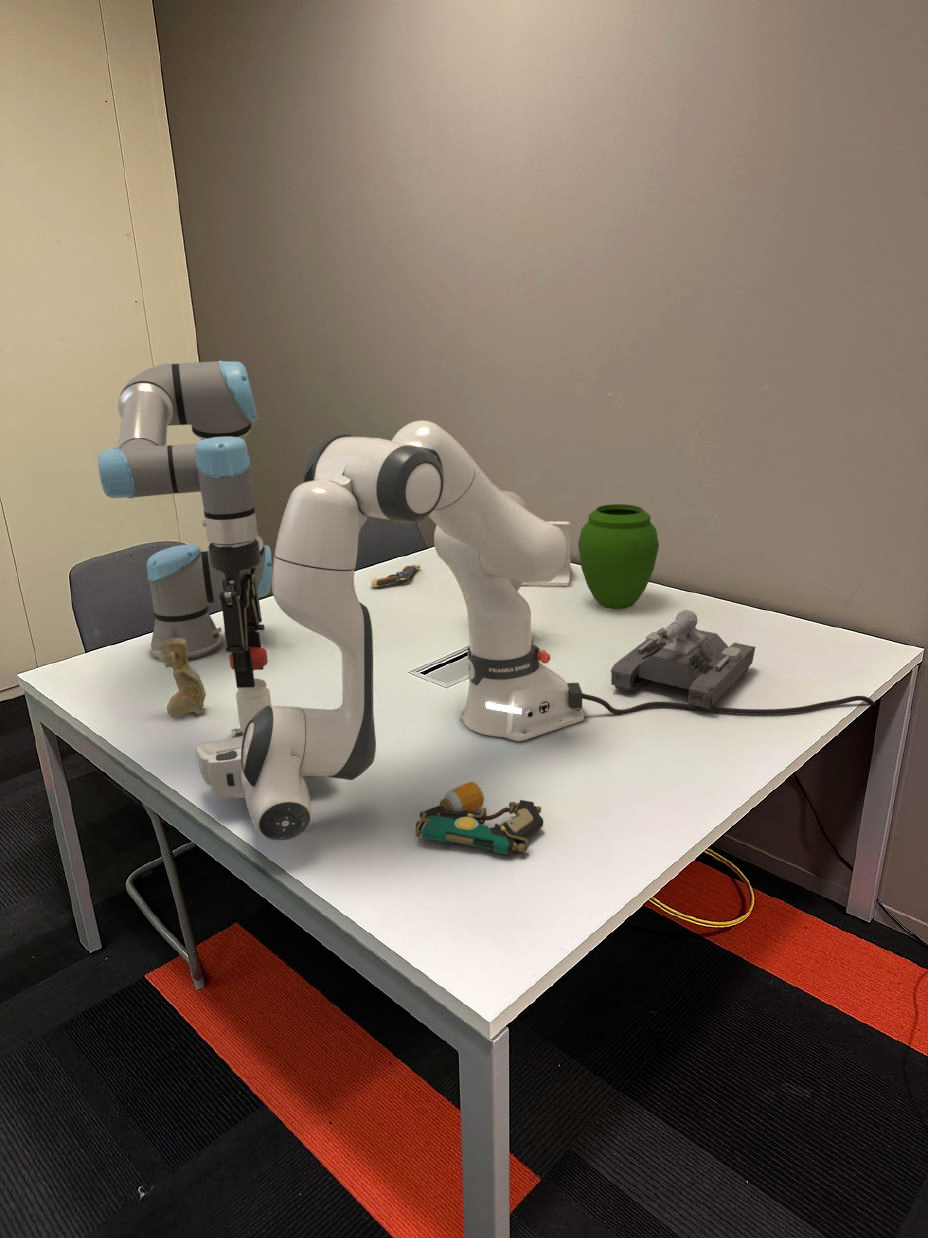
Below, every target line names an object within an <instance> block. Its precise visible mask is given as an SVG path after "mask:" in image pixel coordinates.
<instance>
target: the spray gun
mask: <svg viewBox="0 0 928 1238" xmlns="http://www.w3.org/2000/svg"><path fill="white" fill-rule="evenodd" d="M484 804H485V794H484V790H483V789H482V787H481V786H480V785H479V784H477V783H476V782H474V781H468V782H466V783H464V784H461V785H459V786H456V787H455V788H453V789H450V790H449V791H446V793H445V794H444V796H443V798H441V799H440V801H439V805H436V806H433V807H431V808H428V809H425V810H422V811H420V812H419V820H418V821H417V822H416V824H415V838H418V839H419V838H422V839H427V840H433V841H437V842H442V843H447V842H449V843H455V844H461V845H465V846H471V847H476V848H480V849H481V848H482V849H487V850H490V851H491V852H493V853H496V854H501V855H507V856H509V854H513V852H514V851H517V852H519V853H524V852H526V851H528V849H529V841H528V839H529V838H530V837H532V836H533V835H534V834H535V833H536V832H538V831H539V830H540V829H542V828H543V827H544V818H543V817H542V816H541V815H540V814H541V813H542V806H539V805H537V806H536V805H535V803H534V801H529V800H524V799H520V800H519V802H515V801H510V802H509V803H508V806H506V807H503V808H501V809H500V810H498V811H497V812H495V813H494V814H489V815H487V808H485V807H483V806H484ZM482 807H483V808H482ZM481 808H482V810H481V812H475V811H476V810H479V809H481ZM505 813H509V814H510V815H513V814H514V815H515V818H513V819H512V820H510V821H508V822H503V823H502V825H499V824H498V823H496V822H495V823H494V826H492V827H489V825H486V824H485V823H486V821H492V820H494V819H498V818H499V817H501V816H502V815H503V814H505ZM524 842H525V844H524Z"/></svg>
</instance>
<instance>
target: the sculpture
mask: <svg viewBox="0 0 928 1238" xmlns="http://www.w3.org/2000/svg"><path fill="white" fill-rule="evenodd" d="M186 642H187V641H186V639H183V638H172V639H165V640H162V641H161V642H160V643H159V646H158V648H159V653H160V657H159V659H158V660H159V662H161V663H163V664H164V666H165V668H171V669H172V676H173V678H174V681H175V684H176V687H177V692H176V693H174V694H173V695H172V696H171V697H170V699H169V700H168V703H167V706H166V709H165V710H166V712H167V714H168V715H170V716H174V717H179V716H183V715H187V714H188V713H192V712H194V713H195V714H196V715H199V714H202V711H203V710H204V709H203V708H204V705H205V703H204V702H205V700H206V695H207V693H206V691H205V690H206V689H205V687H204V684H203V681H202V679H201V676H200V674H199V673H198V671H197V670H196V669H195V668H194V667H193V666H191V665H190V664H189V660H187V646H186Z"/></svg>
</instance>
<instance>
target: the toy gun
mask: <svg viewBox="0 0 928 1238" xmlns="http://www.w3.org/2000/svg"><path fill="white" fill-rule="evenodd" d="M418 569H421V565H420V564H414V565H413V564H412V565H405V567H403V569H402V570H400V571H396V573H394V574H390V575H388V576H386V577H382V578H377V577H376V578H373V579H371V581H370V582H371V587H372V588H377V587H382V586H387V585H390V584H394V583H398V582H402V581H408V579H409V578H411V577H412V576H413V574H414V573H415V572H416V571H417V570H418Z"/></svg>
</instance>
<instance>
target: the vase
mask: <svg viewBox="0 0 928 1238" xmlns="http://www.w3.org/2000/svg"><path fill="white" fill-rule="evenodd" d="M587 516H588V517H587V518H588V521H587V522H586V523H585V524H584V525H583V526H582V527H581V529H580V534H579V538H578V541H577V546H578V554H579V562H580V569H581V571H582V574H583V577H584V580H585V583H586V585H587V588H588V590H589V591H590V594H592V597H593V598H594V600H595V601H596V602H597V603H598V604H599V605H600V606H602V607H604V608H606V609H609V610H625V609H628V608H630V607H632V606H634V604H636V602H638V601H639V599H640V597H641V596H642V595H643V593H644V592H645V590H646V588H647V586H648V584H649V581H650V579H651V577H652V574H653V572H654V570H655V566H656V562H657V557H658V552H659V548H660V544H659V543H660V542H659V537H658V531H657V528H656V527H655V526H654V524H653V523H652V522H651V515H650V514H649V512H647V511H645V510H644V509H643V508H642V507H641V506H638V505H633V504H622V503H621V504H619V503H616V504H615V503H614V504H604V505H601V506H598V507H597V508H595V509H594V510H592V511H591V512H590V513H589V514H588V515H587Z"/></svg>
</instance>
